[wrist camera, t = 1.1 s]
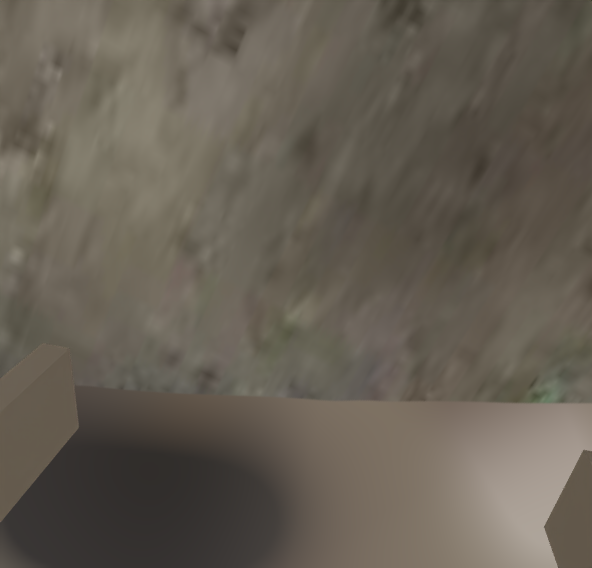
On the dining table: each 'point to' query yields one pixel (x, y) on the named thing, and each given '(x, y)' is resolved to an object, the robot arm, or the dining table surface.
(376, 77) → the dining table surface
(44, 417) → the robot arm
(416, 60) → the dining table surface
